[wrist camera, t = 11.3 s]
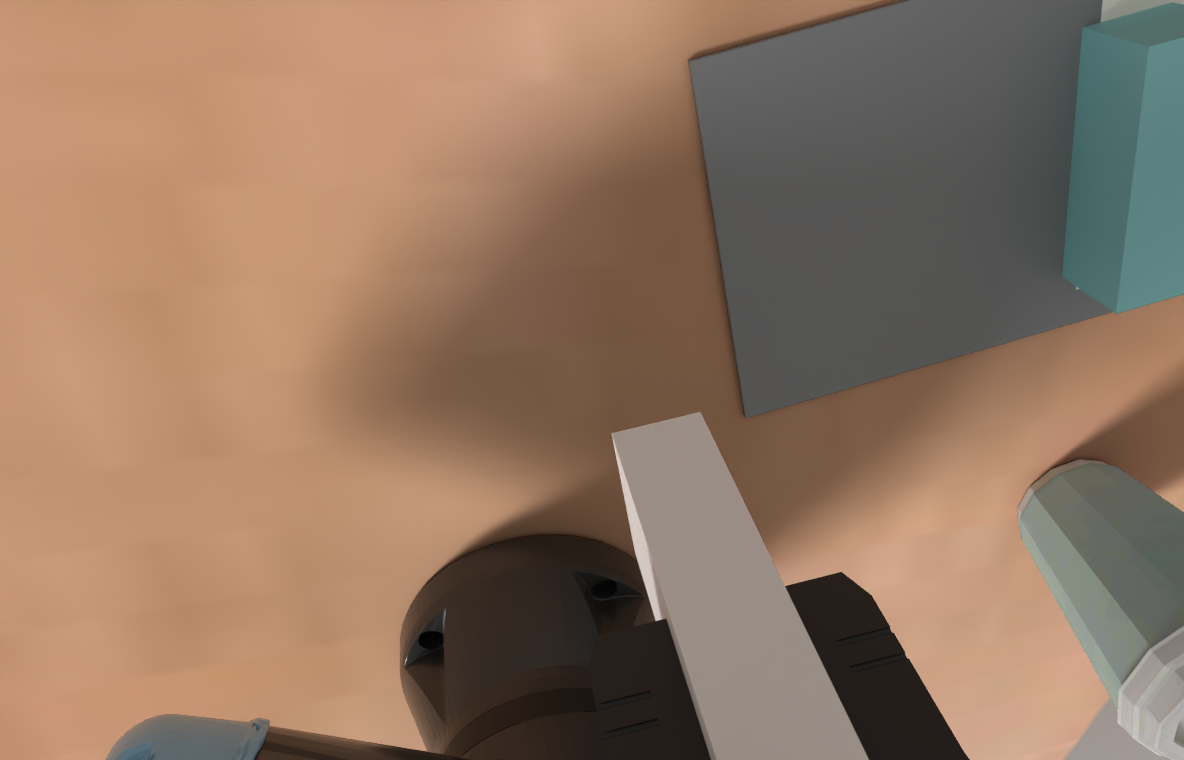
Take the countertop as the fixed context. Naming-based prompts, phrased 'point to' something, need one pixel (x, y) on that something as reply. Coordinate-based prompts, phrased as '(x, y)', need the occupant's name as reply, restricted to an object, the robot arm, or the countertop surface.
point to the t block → (1129, 161)
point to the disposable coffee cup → (1117, 588)
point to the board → (893, 187)
